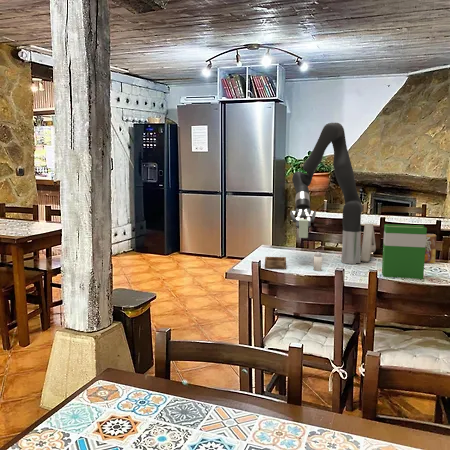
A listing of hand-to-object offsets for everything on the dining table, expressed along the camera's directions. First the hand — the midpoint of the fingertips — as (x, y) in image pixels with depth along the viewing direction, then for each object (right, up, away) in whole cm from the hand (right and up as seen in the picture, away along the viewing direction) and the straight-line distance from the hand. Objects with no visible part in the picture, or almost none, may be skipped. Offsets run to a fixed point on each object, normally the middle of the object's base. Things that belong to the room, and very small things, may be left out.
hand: (303, 227), depth 233 cm
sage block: (0, -5, +2) cm, 5 cm away
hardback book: (+44, -23, -18) cm, 53 cm away
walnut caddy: (-15, -20, -1) cm, 25 cm away
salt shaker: (+6, -21, -7) cm, 23 cm away
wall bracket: (+42, -17, +25) cm, 51 cm away
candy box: (+67, -19, +10) cm, 70 cm away
